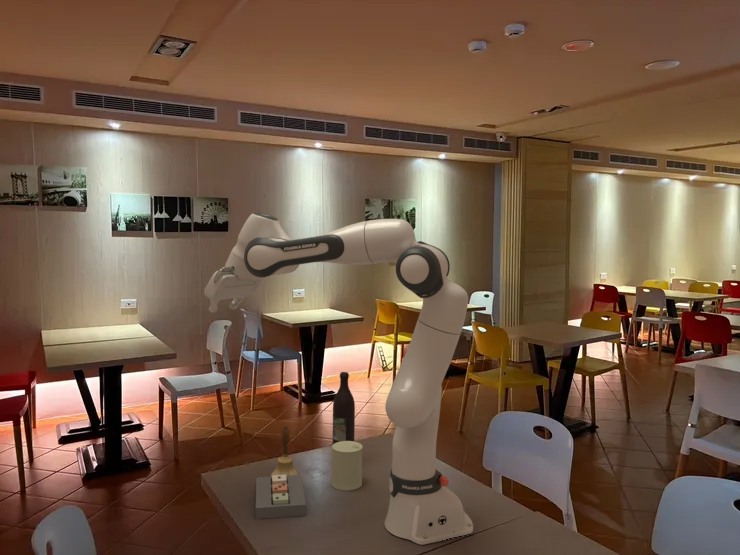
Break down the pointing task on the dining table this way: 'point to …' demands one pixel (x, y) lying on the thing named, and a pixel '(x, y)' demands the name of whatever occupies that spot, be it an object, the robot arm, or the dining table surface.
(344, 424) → the wine bottle
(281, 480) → the button one
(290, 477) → the button panel
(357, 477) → the can
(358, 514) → the dining table surface
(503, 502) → the dining table surface
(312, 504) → the dining table surface
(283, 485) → the button three
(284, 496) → the button two
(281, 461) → the hand bell
